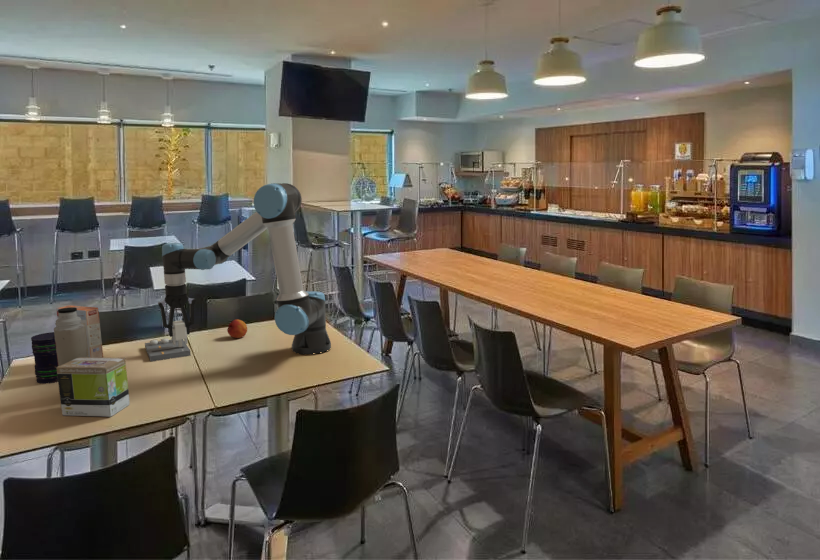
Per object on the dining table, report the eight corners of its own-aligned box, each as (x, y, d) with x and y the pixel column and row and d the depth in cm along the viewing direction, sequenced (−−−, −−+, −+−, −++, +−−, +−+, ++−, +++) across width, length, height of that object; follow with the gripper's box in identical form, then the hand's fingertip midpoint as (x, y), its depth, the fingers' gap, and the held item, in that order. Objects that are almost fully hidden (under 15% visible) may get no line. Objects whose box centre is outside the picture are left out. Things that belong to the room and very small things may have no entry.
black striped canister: (29, 381, 191) (23, 338, 189) (57, 372, 200) (52, 330, 197) (48, 385, 187) (43, 341, 185) (76, 376, 196) (72, 333, 193)
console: (190, 355, 218) (189, 346, 217) (150, 361, 211) (149, 352, 210) (182, 342, 235) (181, 334, 234) (145, 347, 228) (144, 339, 228)
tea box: (131, 404, 171) (126, 356, 169) (110, 418, 161) (105, 367, 159) (83, 402, 173) (78, 355, 170) (60, 416, 163) (54, 366, 160)
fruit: (227, 336, 245) (226, 317, 243) (247, 334, 247) (246, 316, 246) (227, 341, 237) (226, 322, 236) (248, 339, 240) (247, 320, 238)
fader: (186, 347, 220) (184, 323, 218) (176, 349, 218) (174, 324, 216) (184, 343, 225) (182, 320, 223) (174, 345, 223) (172, 321, 221)
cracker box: (105, 362, 211) (99, 306, 207) (91, 367, 205) (84, 310, 201) (76, 358, 215) (70, 304, 211) (61, 363, 210) (55, 307, 206)
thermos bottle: (56, 402, 173) (45, 311, 168) (70, 392, 181) (59, 305, 176) (84, 401, 174) (74, 311, 169) (96, 391, 182) (86, 305, 177)
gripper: (196, 280, 224) (200, 338, 228) (150, 284, 216) (155, 344, 220) (200, 283, 218) (204, 342, 222) (152, 287, 210) (158, 349, 214)
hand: (180, 343), depth 221 cm, fingers closed on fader, 3 cm apart
